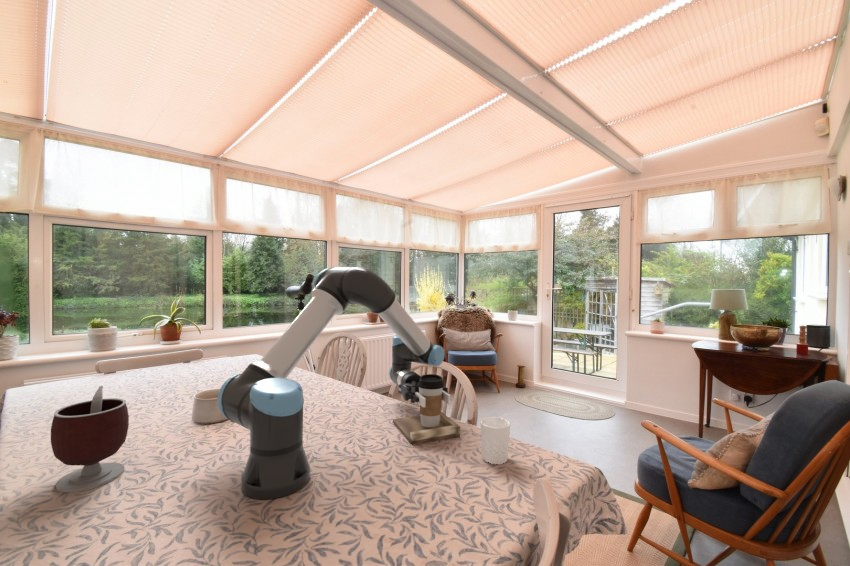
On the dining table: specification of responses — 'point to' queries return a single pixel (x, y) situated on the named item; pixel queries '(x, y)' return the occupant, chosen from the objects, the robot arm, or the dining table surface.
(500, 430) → the white cup
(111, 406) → the mate gourd
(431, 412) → the coffee cup
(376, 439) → the dining table surface
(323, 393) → the dining table surface
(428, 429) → the wooden tray
